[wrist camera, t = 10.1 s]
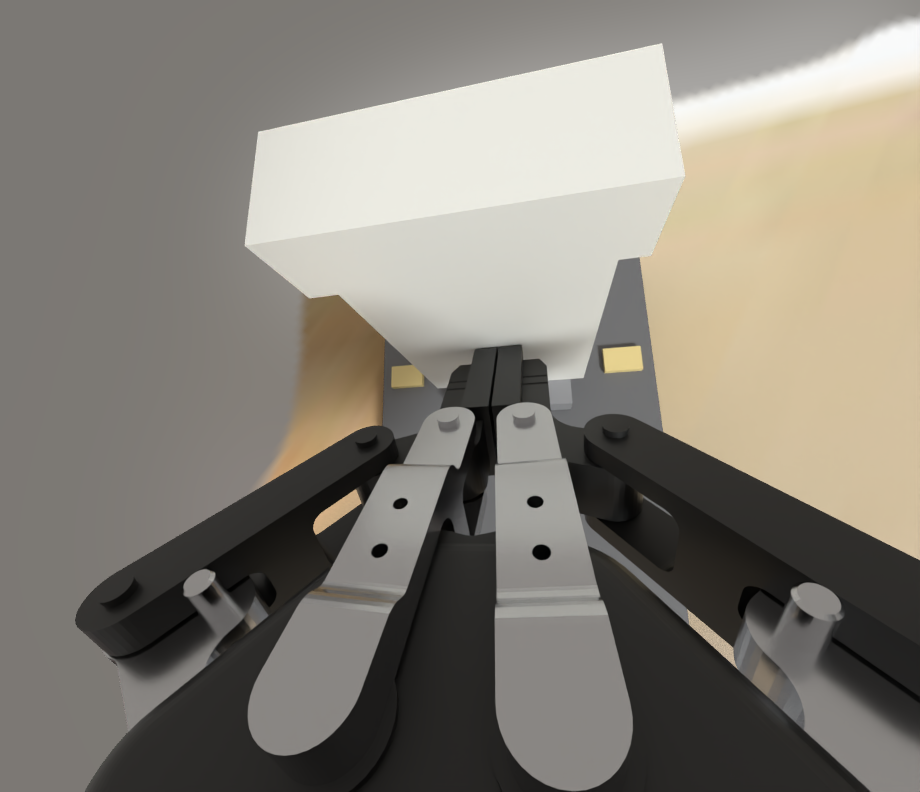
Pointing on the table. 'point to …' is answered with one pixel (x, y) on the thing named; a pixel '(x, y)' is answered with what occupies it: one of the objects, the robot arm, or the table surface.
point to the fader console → (600, 391)
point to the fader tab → (477, 209)
